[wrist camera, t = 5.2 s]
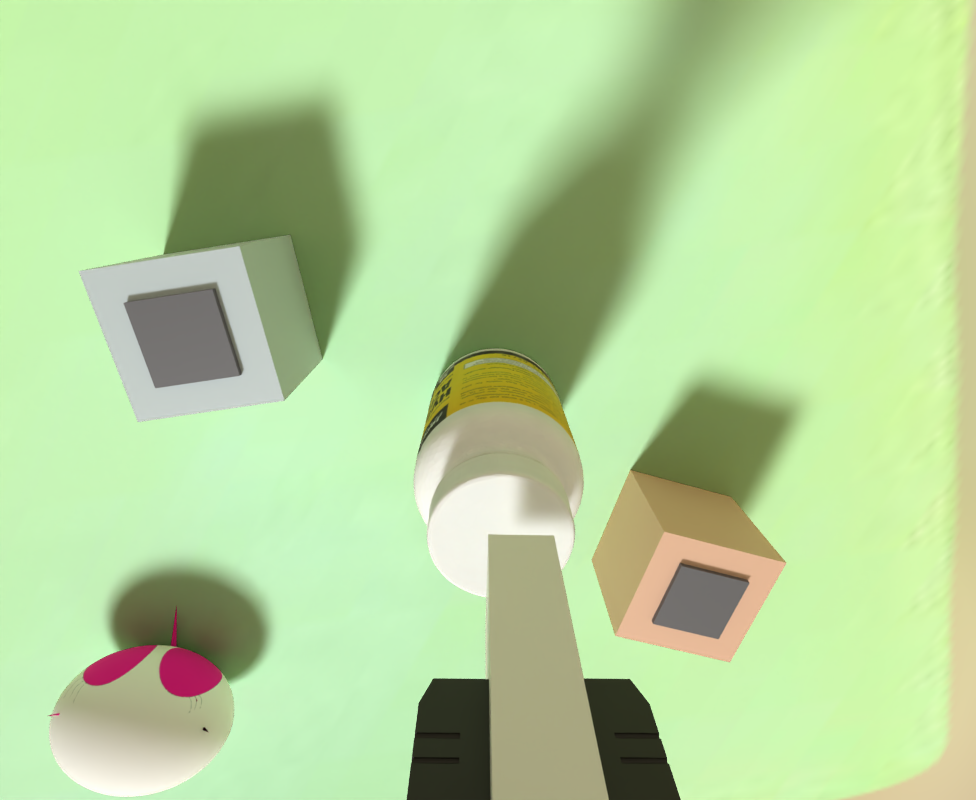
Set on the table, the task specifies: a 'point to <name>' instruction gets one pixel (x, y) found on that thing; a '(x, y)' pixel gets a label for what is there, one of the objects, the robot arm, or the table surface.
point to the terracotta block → (683, 567)
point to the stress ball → (141, 720)
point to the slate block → (206, 327)
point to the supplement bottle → (495, 463)
